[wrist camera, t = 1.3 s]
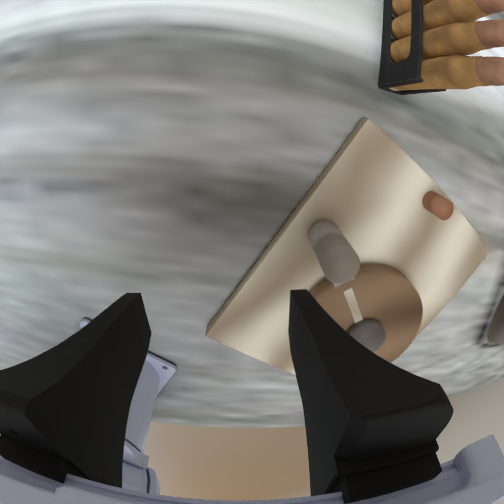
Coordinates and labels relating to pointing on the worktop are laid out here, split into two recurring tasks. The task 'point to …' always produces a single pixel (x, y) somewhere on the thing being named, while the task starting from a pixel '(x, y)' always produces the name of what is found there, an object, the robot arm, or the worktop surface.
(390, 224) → the board
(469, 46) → the ammunition clip
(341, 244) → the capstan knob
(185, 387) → the worktop surface
